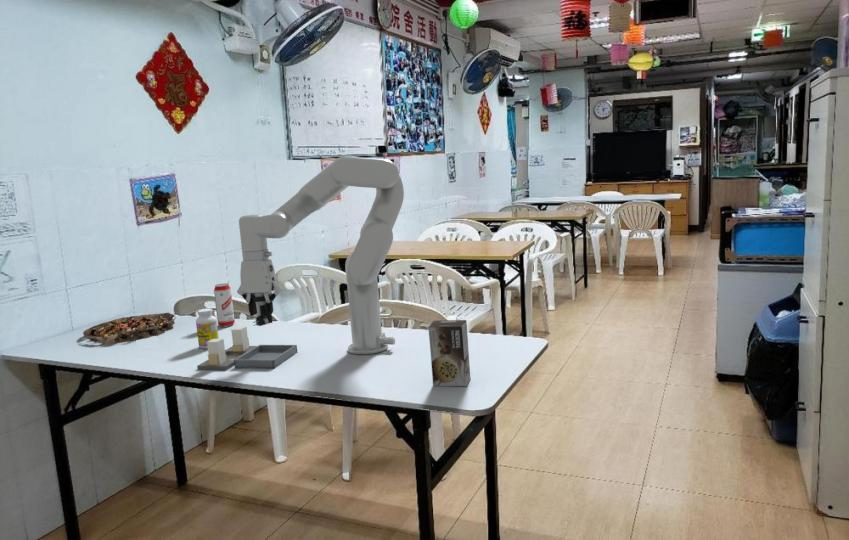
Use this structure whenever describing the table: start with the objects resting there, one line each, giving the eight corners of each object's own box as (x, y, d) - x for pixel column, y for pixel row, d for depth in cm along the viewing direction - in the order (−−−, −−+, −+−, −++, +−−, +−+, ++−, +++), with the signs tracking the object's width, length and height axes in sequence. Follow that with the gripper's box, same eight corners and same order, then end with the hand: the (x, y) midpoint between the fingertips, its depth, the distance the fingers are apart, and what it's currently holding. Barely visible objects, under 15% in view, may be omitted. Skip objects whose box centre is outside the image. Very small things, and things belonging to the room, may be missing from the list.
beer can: (238, 324, 253) (233, 283, 250) (225, 328, 248) (220, 286, 245) (227, 322, 256) (222, 282, 254) (214, 326, 251) (209, 286, 248)
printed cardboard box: (471, 378, 172) (467, 319, 170) (466, 387, 166) (462, 325, 164) (437, 378, 175) (433, 319, 172) (431, 386, 169) (427, 326, 166)
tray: (297, 352, 208) (296, 344, 208) (274, 368, 193) (273, 360, 193) (260, 352, 211) (259, 344, 211) (235, 368, 196) (234, 360, 196)
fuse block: (260, 349, 215) (258, 325, 213) (227, 370, 195) (223, 343, 193) (233, 349, 217) (230, 325, 216) (197, 369, 197) (194, 343, 196)
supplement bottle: (194, 348, 221) (190, 311, 219) (208, 343, 227) (204, 307, 225) (209, 349, 218) (205, 312, 216) (223, 344, 224) (219, 308, 222)
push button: (259, 328, 196) (255, 295, 194) (248, 326, 199) (243, 294, 198) (276, 322, 201) (272, 291, 200) (265, 321, 204) (261, 290, 203)
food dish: (136, 349, 231) (132, 328, 229) (64, 348, 241) (59, 328, 240) (198, 321, 263) (195, 302, 262) (132, 321, 274) (128, 303, 272)
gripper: (286, 253, 198) (292, 311, 201) (236, 254, 202) (242, 311, 205) (275, 257, 191) (281, 317, 194) (223, 258, 195) (230, 317, 198)
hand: (261, 314), depth 200 cm, fingers closed on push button, 4 cm apart
